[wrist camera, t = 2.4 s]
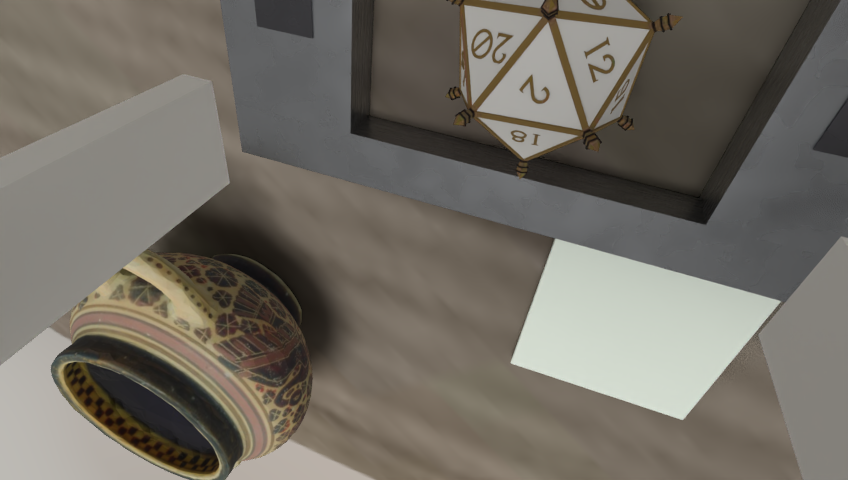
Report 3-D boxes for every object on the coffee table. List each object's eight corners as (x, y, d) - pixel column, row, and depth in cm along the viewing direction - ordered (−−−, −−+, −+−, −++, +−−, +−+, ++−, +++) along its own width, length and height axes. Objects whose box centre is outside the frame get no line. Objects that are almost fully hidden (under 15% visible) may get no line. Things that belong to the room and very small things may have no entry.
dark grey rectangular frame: (1207, -179, 13) (1308, -189, 12) (813, 281, 25) (830, 316, 23) (221, -274, 19) (176, -292, 17) (265, 134, 30) (241, 152, 28)
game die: (533, 49, 26) (391, 141, 23) (562, -135, 19) (362, -37, 16) (675, 134, 22) (528, 259, 19) (778, -57, 15) (569, 93, 12)
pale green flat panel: (781, 289, 26) (784, 296, 25) (681, 412, 33) (682, 420, 33) (558, 228, 28) (557, 234, 27) (511, 356, 35) (510, 363, 35)
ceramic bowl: (186, 133, 36) (-59, 222, 26) (371, 236, 30) (150, 406, 20) (224, 336, 52) (80, 443, 41) (351, 431, 46) (221, 584, 35)
